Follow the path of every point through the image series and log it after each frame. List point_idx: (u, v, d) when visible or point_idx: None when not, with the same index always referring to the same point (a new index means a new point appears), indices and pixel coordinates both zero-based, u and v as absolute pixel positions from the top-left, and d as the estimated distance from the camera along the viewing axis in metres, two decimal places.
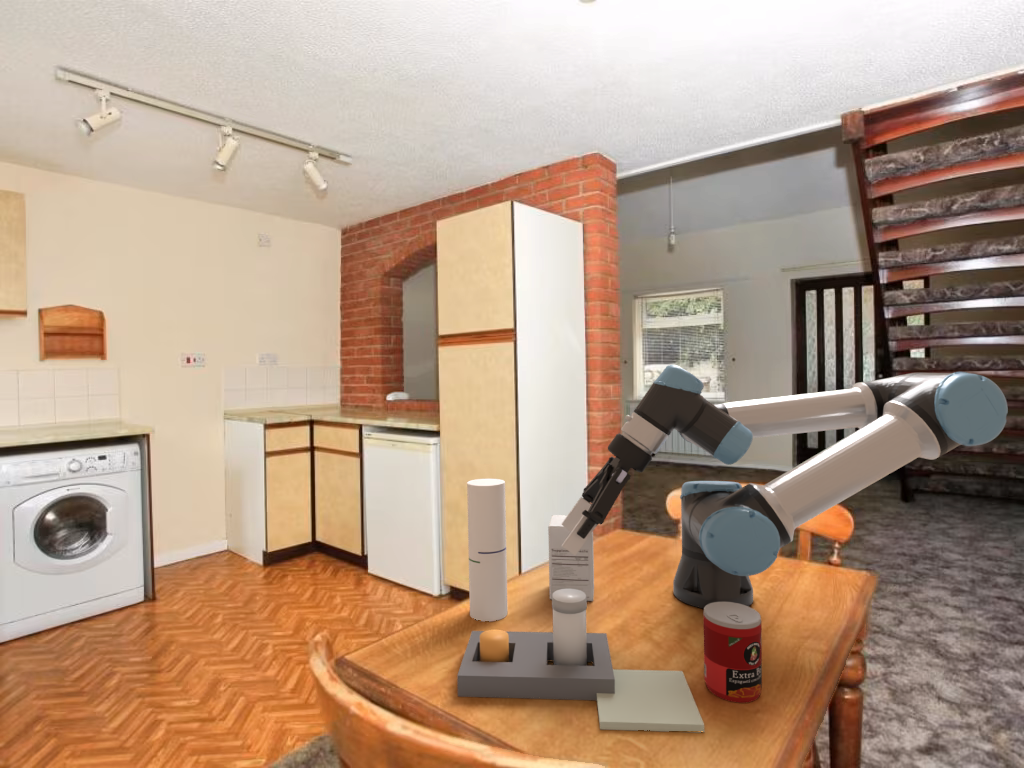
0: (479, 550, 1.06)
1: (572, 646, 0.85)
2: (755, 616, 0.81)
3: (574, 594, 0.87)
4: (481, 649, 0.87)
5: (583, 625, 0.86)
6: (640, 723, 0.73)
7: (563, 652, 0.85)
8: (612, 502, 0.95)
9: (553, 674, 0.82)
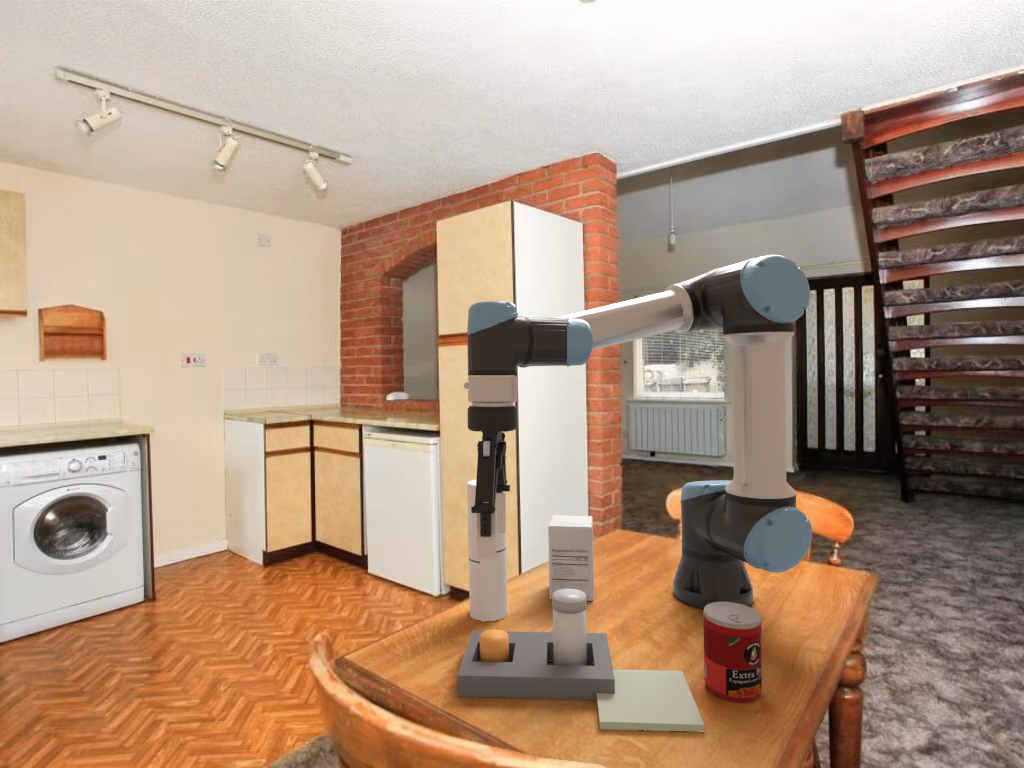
0: None
1: (572, 646, 0.85)
2: (755, 616, 0.81)
3: (574, 594, 0.87)
4: (481, 649, 0.87)
5: (583, 625, 0.86)
6: (640, 723, 0.73)
7: (563, 652, 0.85)
8: (491, 481, 0.80)
9: (553, 674, 0.82)
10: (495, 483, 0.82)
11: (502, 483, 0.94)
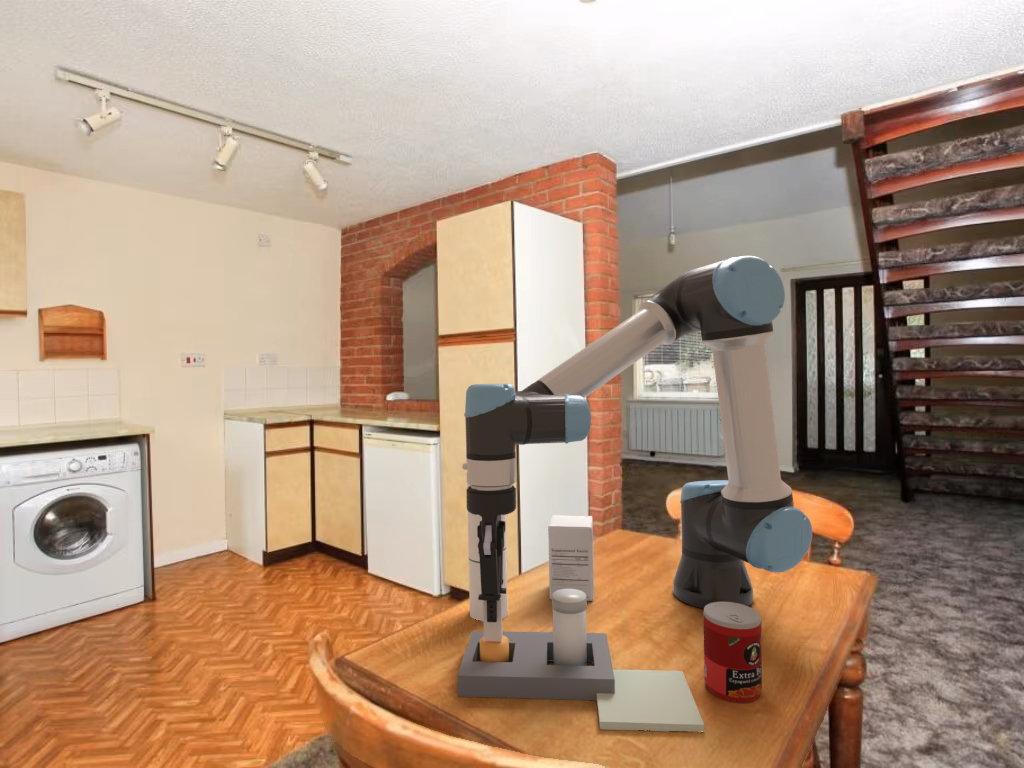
0: None
1: (572, 646, 0.85)
2: (755, 616, 0.81)
3: (574, 594, 0.87)
4: (481, 654, 0.87)
5: (583, 625, 0.86)
6: (640, 723, 0.73)
7: (563, 652, 0.85)
8: (495, 577, 0.83)
9: (553, 674, 0.82)
10: (498, 572, 0.86)
11: None
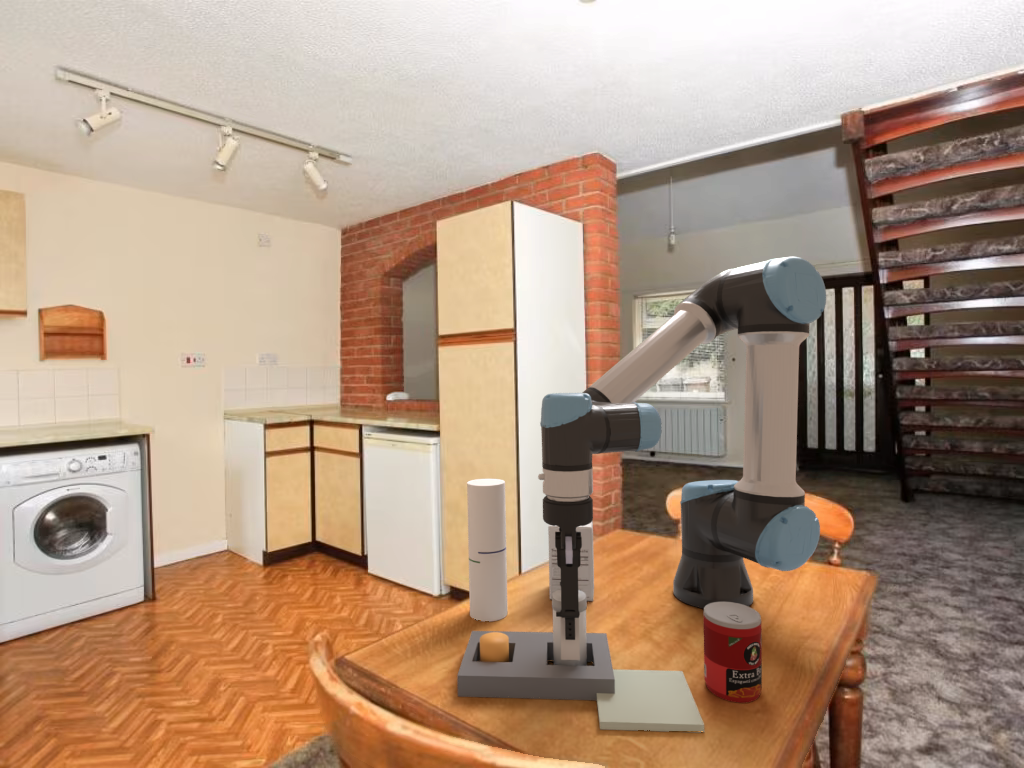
0: (479, 550, 1.06)
1: None
2: (755, 616, 0.81)
3: None
4: (481, 652, 0.87)
5: (583, 625, 0.86)
6: (640, 723, 0.73)
7: None
8: (576, 590, 0.81)
9: (553, 674, 0.82)
10: None
11: None
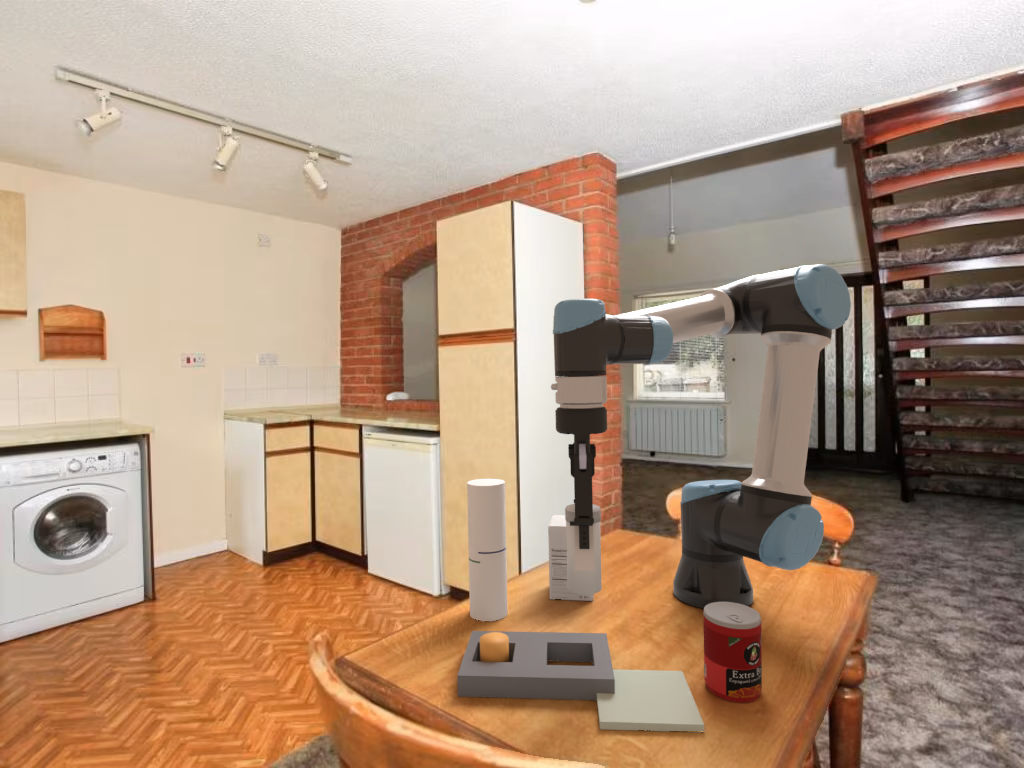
0: (479, 550, 1.06)
1: None
2: (755, 616, 0.81)
3: None
4: (481, 652, 0.87)
5: (597, 537, 0.84)
6: (640, 723, 0.73)
7: None
8: (590, 495, 0.79)
9: (553, 674, 0.82)
10: None
11: None
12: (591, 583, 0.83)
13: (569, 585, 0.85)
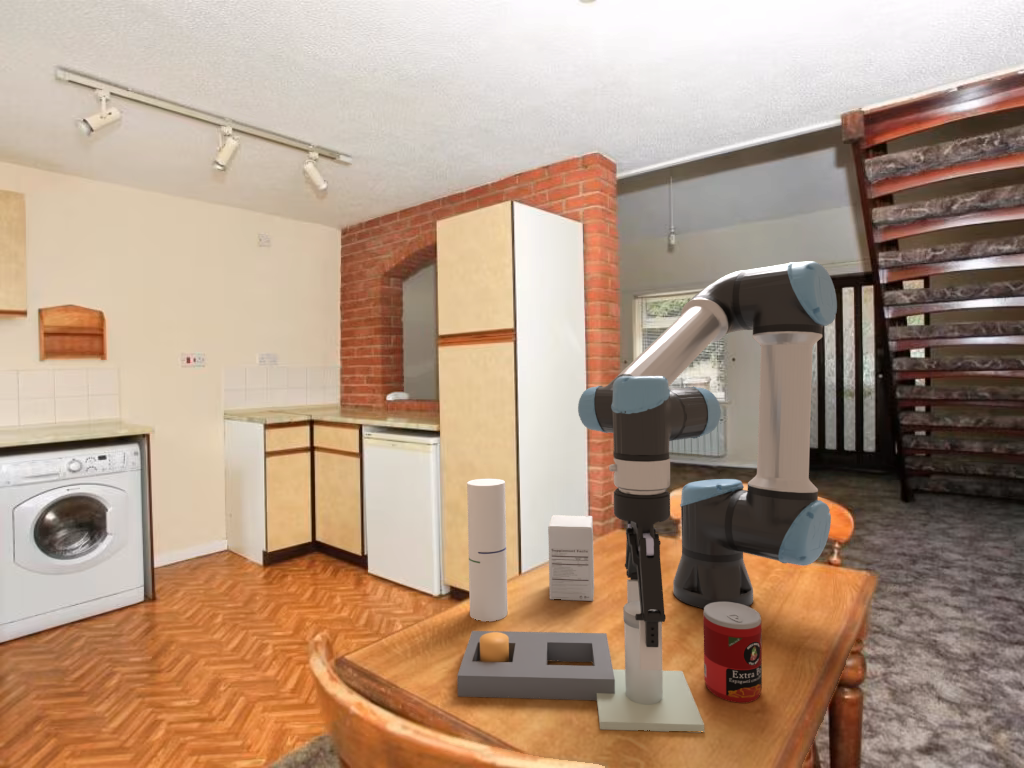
0: (479, 550, 1.06)
1: None
2: (755, 616, 0.81)
3: None
4: (481, 652, 0.87)
5: None
6: (640, 723, 0.73)
7: (638, 671, 0.77)
8: (659, 585, 0.71)
9: (553, 674, 0.82)
10: None
11: None
12: (654, 693, 0.77)
13: (629, 693, 0.79)
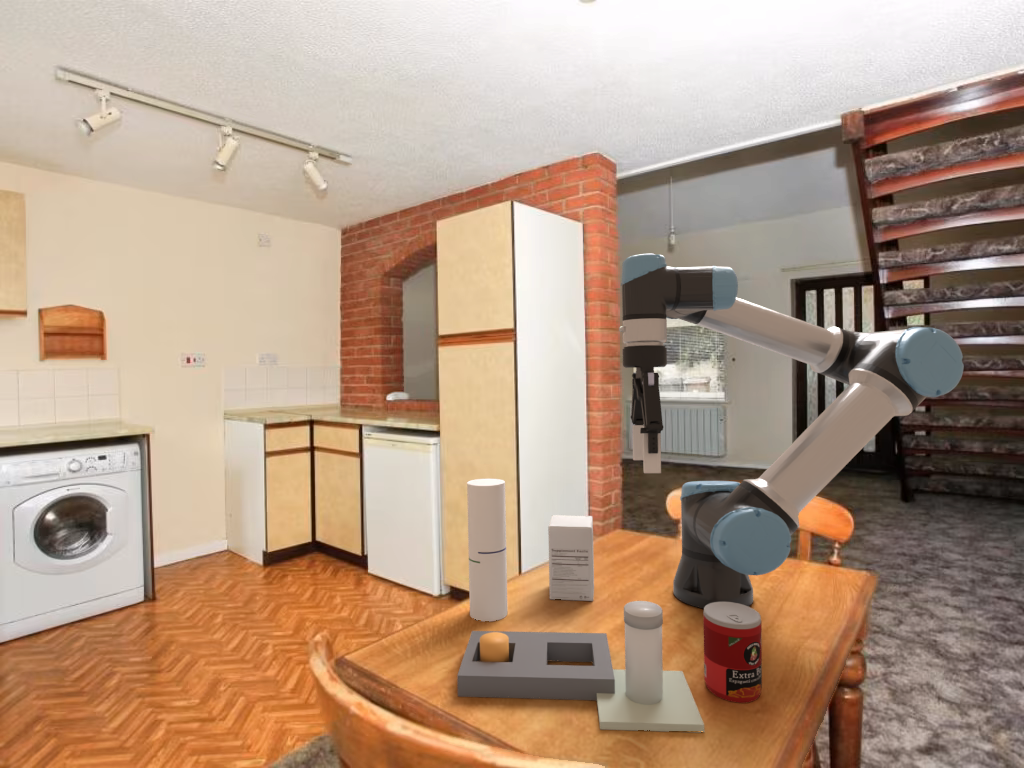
0: (479, 550, 1.06)
1: (648, 665, 0.77)
2: (755, 616, 0.81)
3: (648, 607, 0.79)
4: (481, 652, 0.87)
5: (660, 642, 0.78)
6: (640, 723, 0.73)
7: (639, 671, 0.77)
8: (658, 405, 0.93)
9: (553, 674, 0.82)
10: None
11: None
12: (654, 693, 0.77)
13: (629, 693, 0.79)
